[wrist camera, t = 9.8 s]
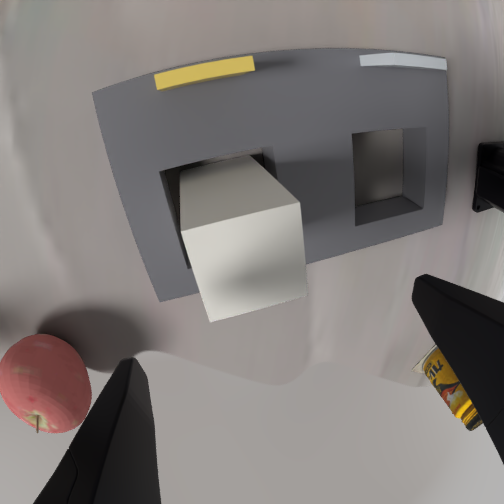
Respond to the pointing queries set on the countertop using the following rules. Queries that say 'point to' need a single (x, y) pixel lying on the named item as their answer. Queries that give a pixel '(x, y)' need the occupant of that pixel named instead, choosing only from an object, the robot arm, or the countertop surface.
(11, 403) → the apple
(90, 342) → the countertop surface
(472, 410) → the condiment
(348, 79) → the socket plate
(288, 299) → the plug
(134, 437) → the robot arm
